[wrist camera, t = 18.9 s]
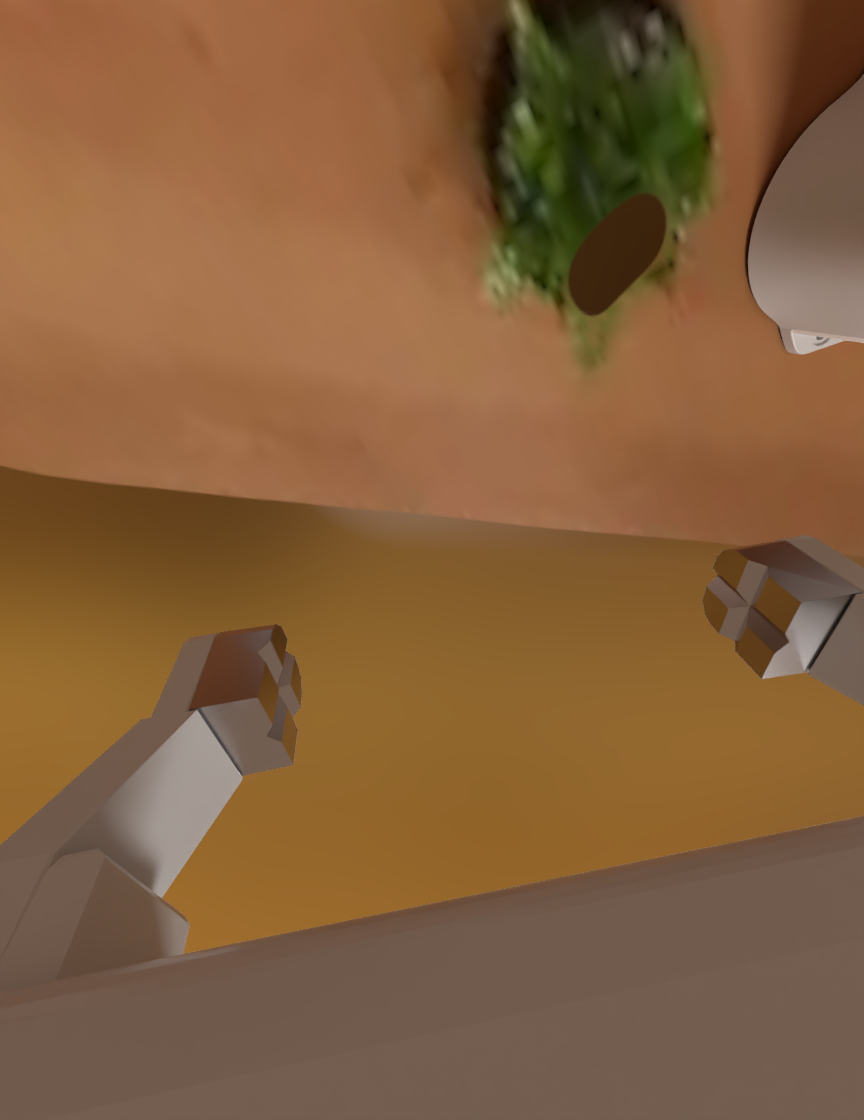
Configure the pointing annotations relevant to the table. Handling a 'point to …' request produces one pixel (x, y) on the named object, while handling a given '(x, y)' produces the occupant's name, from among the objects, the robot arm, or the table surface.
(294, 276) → the table surface
